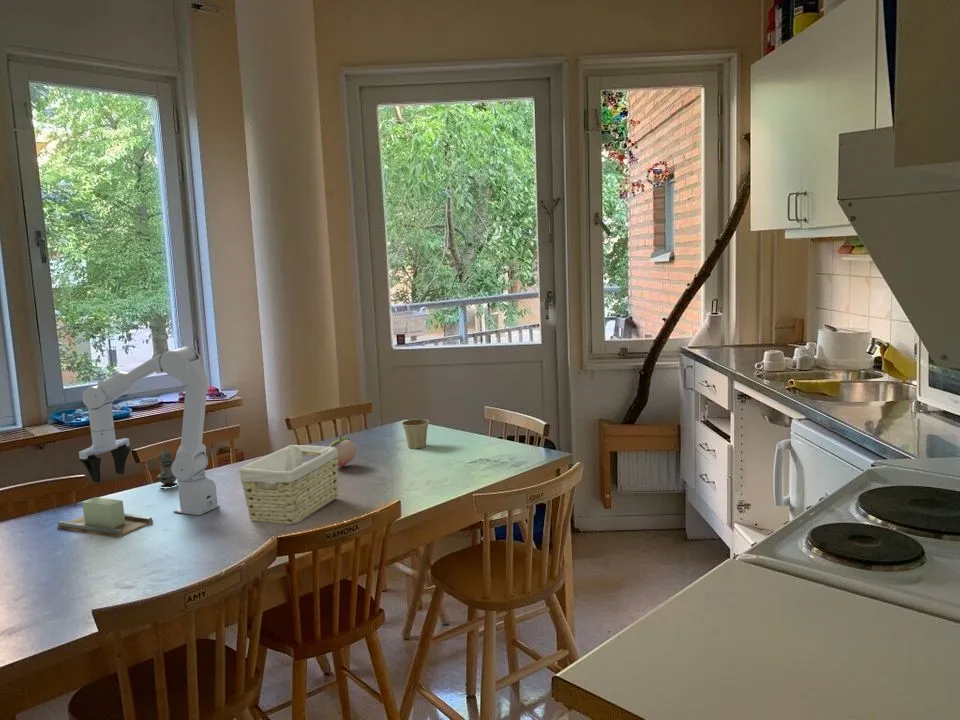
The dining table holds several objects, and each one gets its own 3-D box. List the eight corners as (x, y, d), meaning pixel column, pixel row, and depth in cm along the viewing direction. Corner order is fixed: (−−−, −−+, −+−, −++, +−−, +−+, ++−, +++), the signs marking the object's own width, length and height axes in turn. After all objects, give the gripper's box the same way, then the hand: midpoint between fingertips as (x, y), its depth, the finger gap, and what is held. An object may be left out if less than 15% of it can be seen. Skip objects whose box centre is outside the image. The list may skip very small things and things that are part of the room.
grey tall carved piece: (172, 489, 231) (167, 450, 229) (154, 489, 232) (150, 450, 230) (183, 483, 236) (179, 444, 235) (166, 483, 238) (161, 444, 236)
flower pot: (429, 449, 262) (428, 424, 260) (401, 450, 262) (400, 425, 261) (431, 442, 271) (430, 418, 270) (404, 443, 271) (403, 419, 270)
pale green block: (125, 522, 202) (122, 500, 201) (112, 528, 198) (109, 505, 197) (98, 518, 206) (95, 496, 205) (85, 523, 203) (82, 501, 202)
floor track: (153, 522, 203) (152, 517, 202) (118, 537, 193) (117, 531, 193) (94, 513, 212) (93, 508, 212) (57, 528, 202) (56, 522, 202)
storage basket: (294, 528, 194) (289, 471, 191) (240, 523, 200) (235, 467, 197) (344, 497, 216) (340, 446, 213) (294, 493, 222) (290, 443, 219)
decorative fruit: (348, 471, 240) (345, 440, 239) (324, 470, 243) (322, 439, 241) (362, 463, 249) (359, 433, 247) (339, 462, 252) (337, 432, 250)
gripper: (114, 422, 218) (120, 469, 220) (68, 434, 205) (75, 484, 207) (132, 423, 215) (138, 471, 217) (87, 436, 202) (93, 486, 204)
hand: (108, 477), depth 212 cm, fingers open, 7 cm apart
